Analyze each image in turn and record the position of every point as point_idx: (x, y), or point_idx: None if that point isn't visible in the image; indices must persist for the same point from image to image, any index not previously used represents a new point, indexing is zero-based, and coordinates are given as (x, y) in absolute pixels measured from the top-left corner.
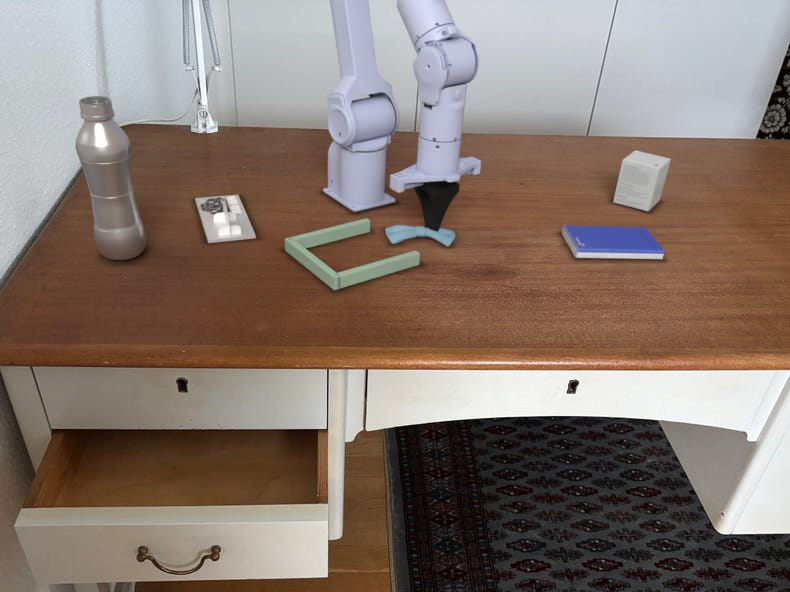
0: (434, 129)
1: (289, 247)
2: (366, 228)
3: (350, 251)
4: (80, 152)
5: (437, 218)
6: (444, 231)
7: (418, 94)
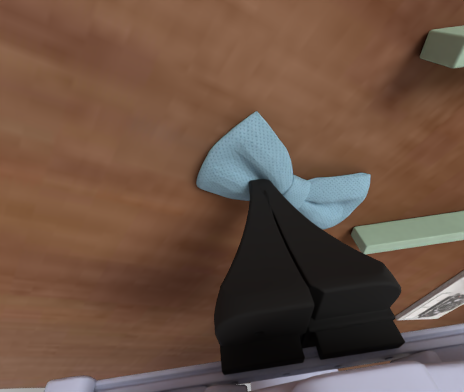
0: None
1: None
2: (368, 232)
3: (458, 174)
4: None
5: (278, 202)
6: (233, 175)
7: None
